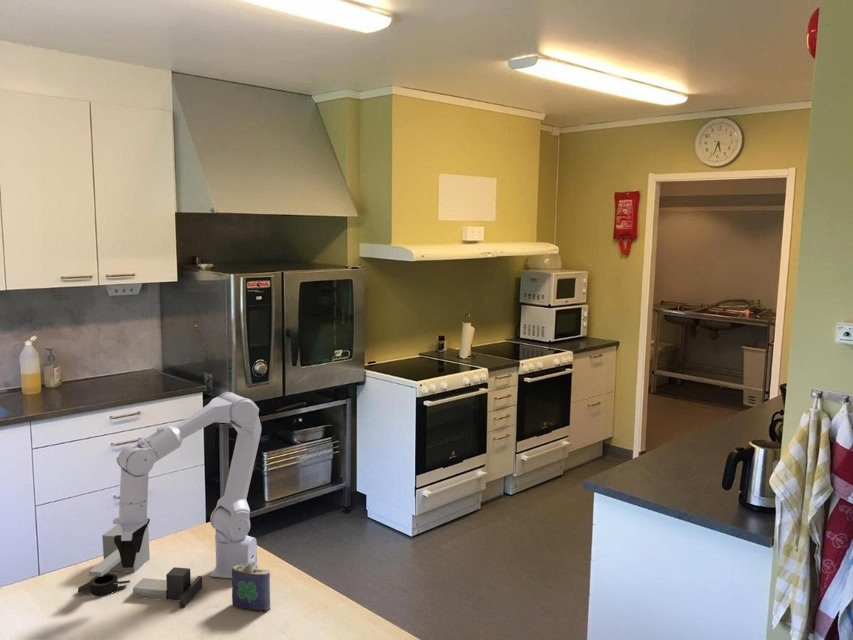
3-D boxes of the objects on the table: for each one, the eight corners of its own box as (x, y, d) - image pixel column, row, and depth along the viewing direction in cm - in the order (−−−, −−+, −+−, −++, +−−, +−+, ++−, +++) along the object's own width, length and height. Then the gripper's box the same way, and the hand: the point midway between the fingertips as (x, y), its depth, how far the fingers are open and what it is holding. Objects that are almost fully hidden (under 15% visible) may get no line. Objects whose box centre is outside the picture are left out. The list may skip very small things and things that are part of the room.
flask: (272, 607, 154) (271, 562, 152) (266, 614, 151) (264, 568, 149) (236, 600, 156) (234, 556, 155) (228, 607, 153) (227, 562, 152)
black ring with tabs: (112, 602, 156) (111, 590, 155) (74, 596, 158) (73, 585, 157) (133, 585, 163) (133, 573, 163) (97, 580, 165) (96, 569, 165)
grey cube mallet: (149, 559, 175) (148, 525, 174) (102, 600, 156) (100, 563, 154) (120, 556, 176) (118, 523, 175) (70, 597, 157) (68, 560, 155)
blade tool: (202, 587, 162) (201, 563, 161) (184, 608, 153) (183, 582, 152) (148, 582, 164) (147, 559, 163) (127, 603, 155) (126, 577, 154)
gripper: (120, 489, 158) (118, 546, 159) (106, 512, 144) (104, 574, 145) (153, 488, 159) (151, 545, 160) (142, 511, 145) (140, 573, 146)
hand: (131, 559), depth 153 cm, fingers open, 7 cm apart
